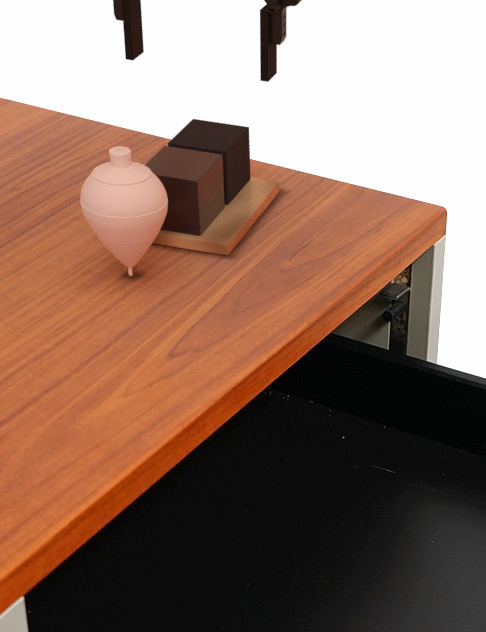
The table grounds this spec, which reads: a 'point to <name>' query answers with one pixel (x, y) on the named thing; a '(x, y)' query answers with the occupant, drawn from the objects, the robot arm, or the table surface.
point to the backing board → (228, 220)
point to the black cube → (220, 150)
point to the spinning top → (124, 206)
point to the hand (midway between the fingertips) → (201, 66)
